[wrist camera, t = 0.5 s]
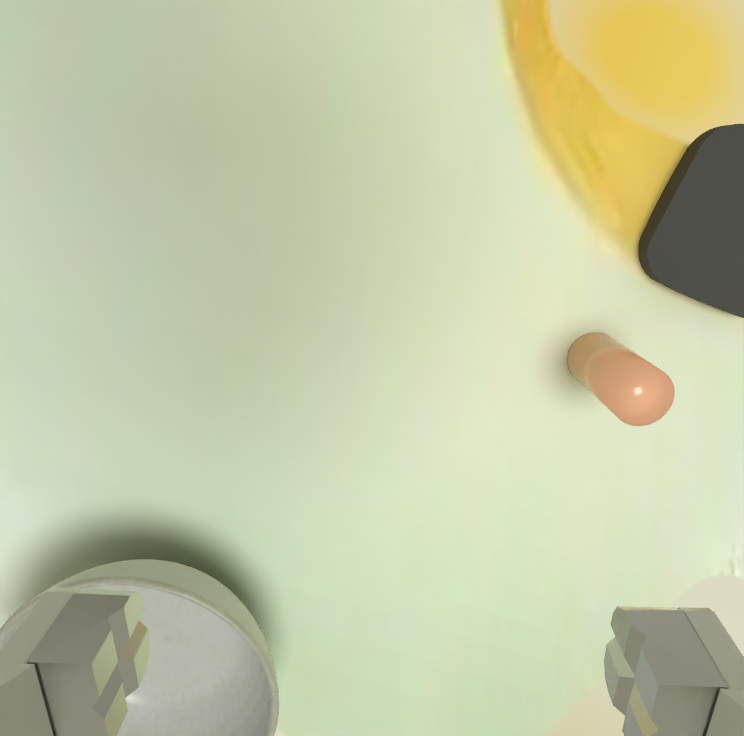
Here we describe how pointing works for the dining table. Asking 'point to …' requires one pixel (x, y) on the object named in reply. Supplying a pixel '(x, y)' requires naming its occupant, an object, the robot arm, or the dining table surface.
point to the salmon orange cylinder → (621, 379)
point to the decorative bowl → (187, 653)
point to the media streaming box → (702, 223)
